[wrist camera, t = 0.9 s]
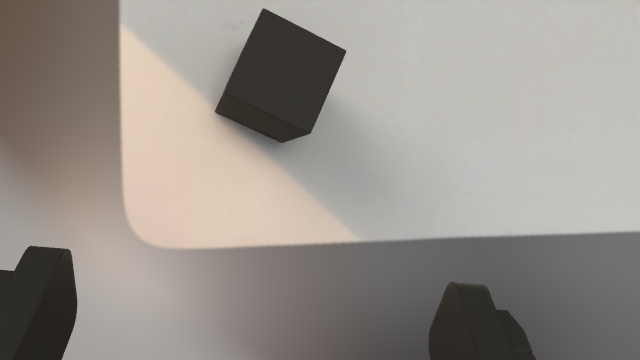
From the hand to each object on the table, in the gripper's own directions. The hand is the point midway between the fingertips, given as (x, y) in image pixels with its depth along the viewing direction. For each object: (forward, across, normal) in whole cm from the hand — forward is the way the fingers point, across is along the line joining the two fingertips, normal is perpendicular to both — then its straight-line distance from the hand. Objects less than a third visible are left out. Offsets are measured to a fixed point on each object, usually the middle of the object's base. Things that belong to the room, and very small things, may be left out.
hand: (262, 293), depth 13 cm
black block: (+23, 0, +7) cm, 24 cm away
